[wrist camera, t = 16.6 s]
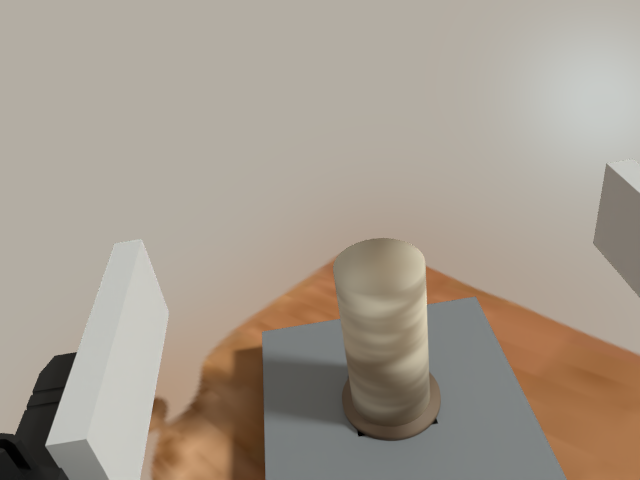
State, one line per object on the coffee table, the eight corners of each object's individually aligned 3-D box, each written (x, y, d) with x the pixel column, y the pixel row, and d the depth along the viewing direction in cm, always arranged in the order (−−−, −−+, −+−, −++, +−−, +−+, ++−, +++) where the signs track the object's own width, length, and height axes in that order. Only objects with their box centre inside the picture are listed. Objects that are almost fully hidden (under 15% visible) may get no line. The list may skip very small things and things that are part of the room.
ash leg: (353, 470, 44) (327, 312, 35) (340, 392, 50) (316, 241, 41) (452, 454, 44) (452, 291, 35) (427, 378, 50) (422, 224, 41)
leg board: (275, 569, 39) (267, 545, 37) (268, 354, 56) (262, 331, 54) (568, 519, 39) (574, 494, 38) (474, 320, 56) (475, 296, 54)
